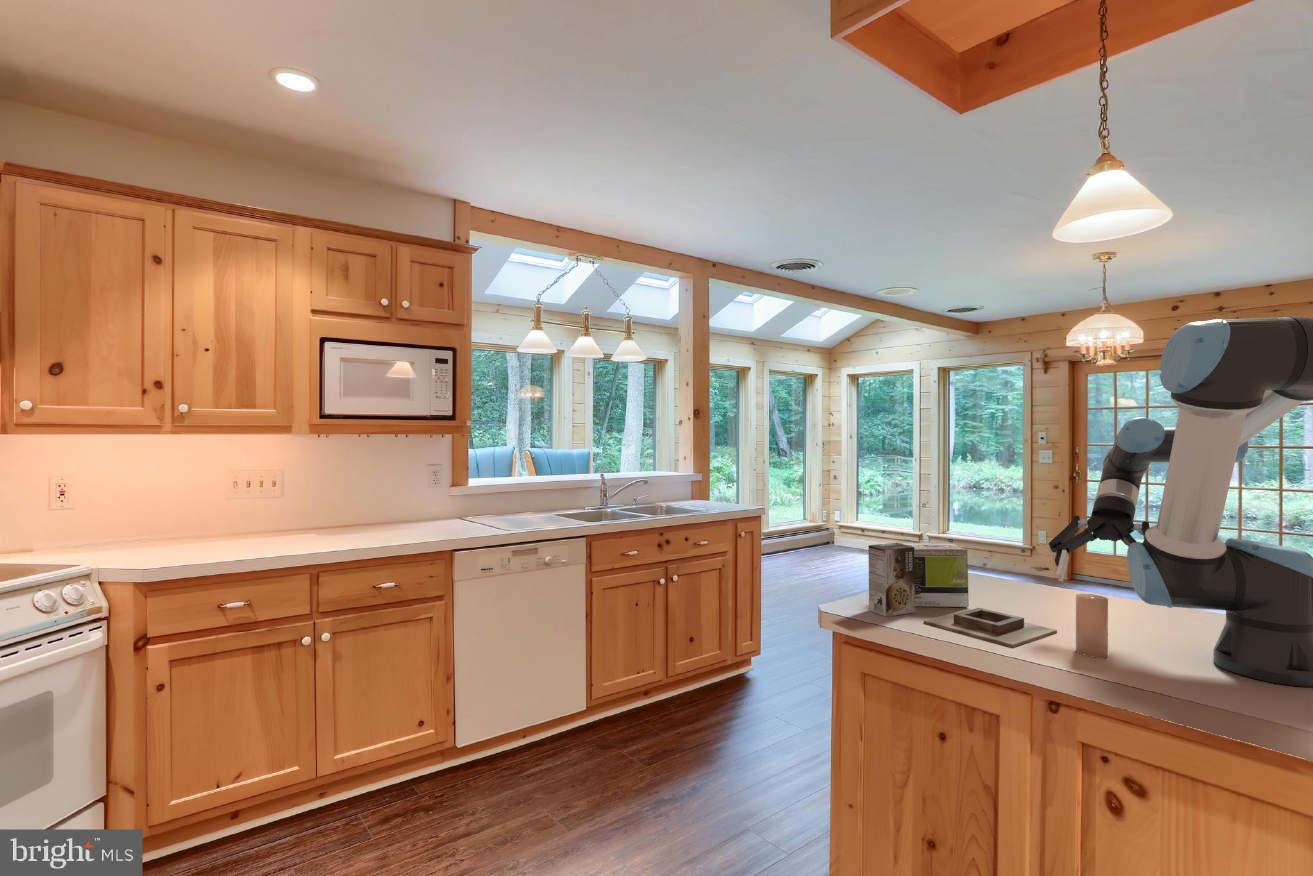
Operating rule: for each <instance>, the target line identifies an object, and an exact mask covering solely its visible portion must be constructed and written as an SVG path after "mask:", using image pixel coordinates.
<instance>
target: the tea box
mask: <svg viewBox="0 0 1313 876" xmlns="http://www.w3.org/2000/svg"><path fill="white" fill-rule="evenodd" d="M899 543H900V544H905V545H908V546H912V547H914V560H915V607H943V608H944V607H945V608H946V607H947V608H949V607H950V608H953V607H954V608H969V604H970V603H969V564H968V563H969V561H968V559H969V558H968V549H966V548H965V547H961V546H959V545H956V544H954V543H950V542H949V543H945V542H944V543H941V542H937V543H934V542H932V543H931V542H930V543H928V542H926V543H925V542H923V543H922V542H921V543H920V542H918V543H917V542H916V543H915V542H914V543H913V542H912V543H911V542H909V543H905V542H904V543H901V542H899Z"/></svg>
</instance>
